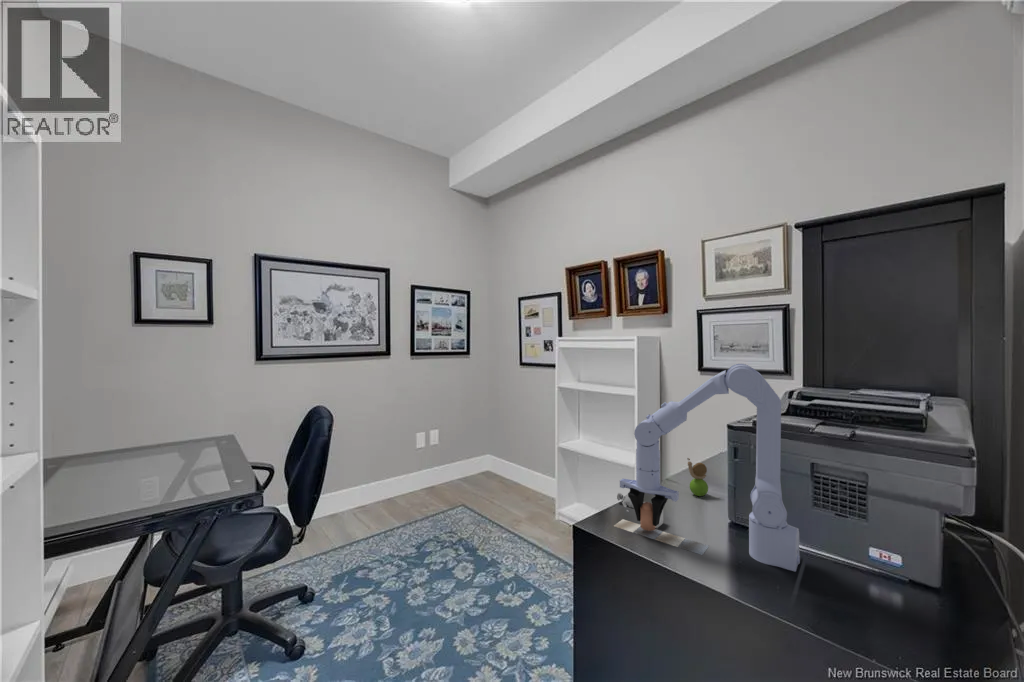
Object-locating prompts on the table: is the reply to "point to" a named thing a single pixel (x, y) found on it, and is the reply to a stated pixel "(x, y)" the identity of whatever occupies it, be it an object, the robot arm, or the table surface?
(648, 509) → the pawn
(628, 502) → the soldier figure
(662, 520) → the die
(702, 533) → the table surface
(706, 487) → the snail figurine
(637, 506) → the robot arm
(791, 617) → the table surface
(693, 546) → the board
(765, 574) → the table surface
